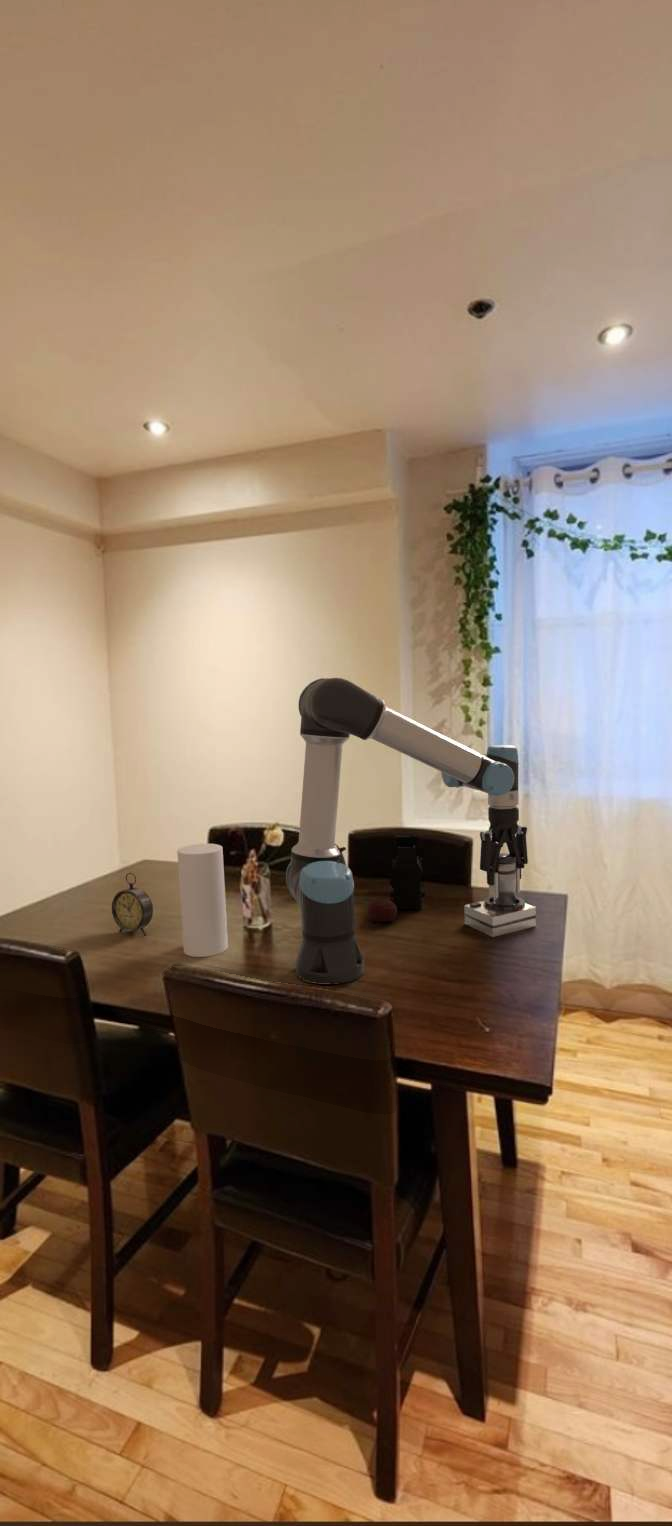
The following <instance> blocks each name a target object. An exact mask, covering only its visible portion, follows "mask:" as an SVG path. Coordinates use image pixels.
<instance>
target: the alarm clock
mask: <svg viewBox="0 0 672 1526" xmlns="http://www.w3.org/2000/svg"><path fill="white" fill-rule="evenodd" d="M129 875H132V876H133V877H134V882H129V881H128V876H129ZM125 880H126V883H127V884H128V885H129V888H127V889H124V890H123V889H122V890H120V891H118V892H116V894H115V896H113V899H112V903H111V913H112V914H111V915H112V918H113V920H114V922H115V924H116V925H117V926H118V927H119V928H120V929H119V931H118V932H119V933H121V932H122V931H124V932H129V933H132V932H133V933H134V932H136V931H138V930H140V932H141V933H142V934H143V936H144V937H146V936H147V933H146V932H145V931H146V930H145V929H144V928H145V927H146V926H148V925H149V924H150V922H151V921H152V919H153V914H154V907H153V902H152V900H151V898H150V896H149V895H148V893H147V892H146V891H145V890H143V889H141V888H139V887H134V885H135V884H136V883H137V877H136V875H135V874H134V873H133V872H128V873H126V875H125Z"/></svg>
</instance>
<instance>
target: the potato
mask: <svg viewBox="0 0 672 1526" xmlns="http://www.w3.org/2000/svg"><path fill="white" fill-rule="evenodd" d="M371 901H372V900H371ZM397 914H398V909H397V907H396V905H395V904H394V901H392V900H389V899H386V898H376V899H374V900H373V901H372V902H370V903H369V905H368V908H367V915H368V917H369V918H370V919H371V920H373V921H375V922H379V923H388V922H390V921H393V920H394V919H395V918H396V916H397Z"/></svg>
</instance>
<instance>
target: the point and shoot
mask: <svg viewBox="0 0 672 1526" xmlns="http://www.w3.org/2000/svg"><path fill="white" fill-rule="evenodd" d="M463 909H464V925H466V926H468V927H471V928H472V929H475V930H477V931H478V932H480V933H484V934H485V935H486V936H487V935H488V936H490V937H492V938H495V937H498V936H502V935H506V934H511V933H514V932H518V931H522V930H527V929H530V928H534V927H536V926H537V920H536V919H537V917H536V916H537V913H536V911H537V910H536V909H537V907H536V906H534V905H531V904H528V903H526V901H525V900H524V898H522V897H520V896H517V895H516V904H514V905H497V904H494V903H493V902H492V897H491V896H489V895H488V896H486V897H485V898H484V899H483V900H482V901H476V902H472V903H468V904H465V905H464V908H463Z"/></svg>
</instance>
